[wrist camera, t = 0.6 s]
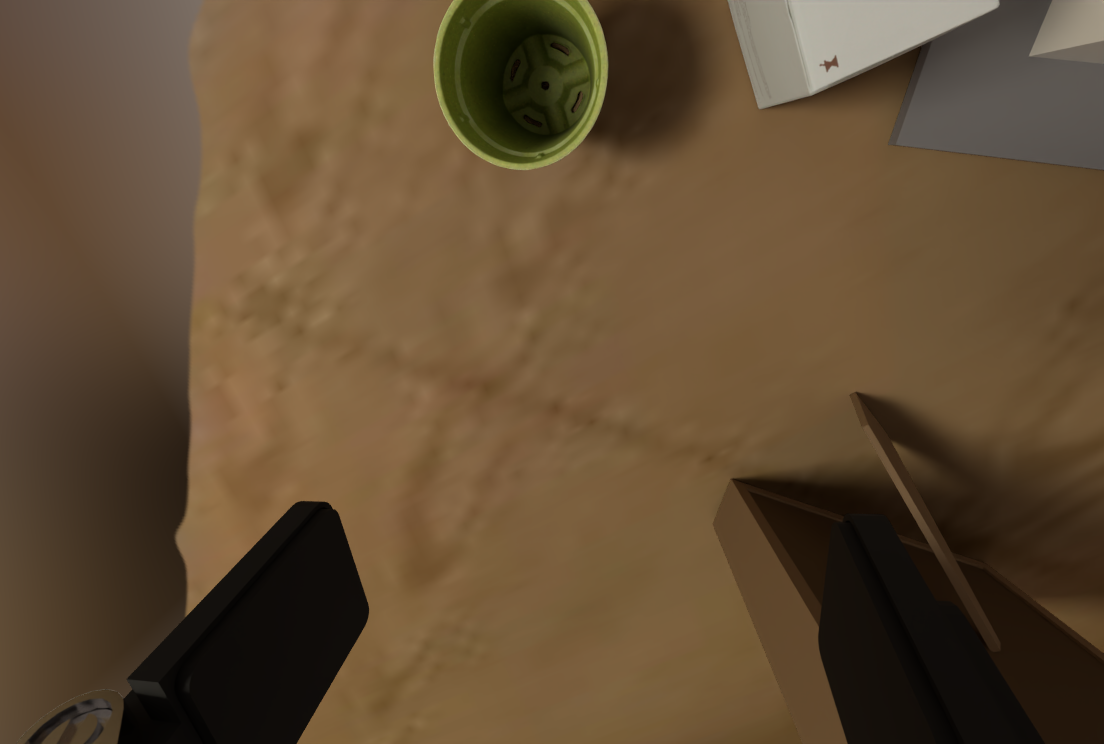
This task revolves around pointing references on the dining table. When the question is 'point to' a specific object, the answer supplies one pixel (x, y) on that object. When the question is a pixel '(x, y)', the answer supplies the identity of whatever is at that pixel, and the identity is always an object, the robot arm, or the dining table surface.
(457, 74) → the plant pot
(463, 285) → the dining table surface
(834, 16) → the supplement box
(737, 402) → the dining table surface
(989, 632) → the photo frame
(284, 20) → the dining table surface
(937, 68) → the grey square base
